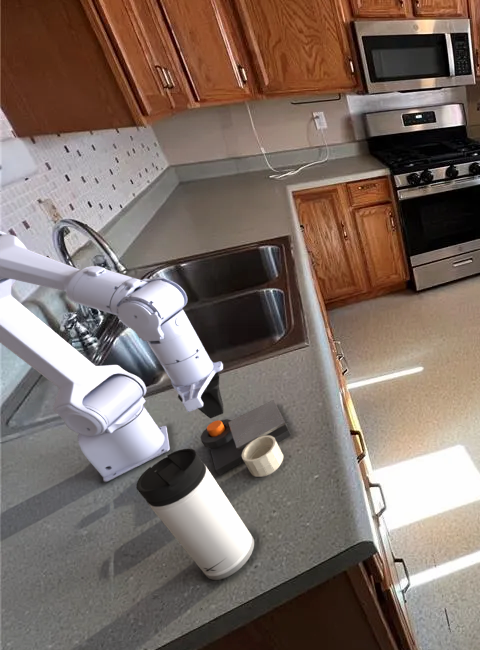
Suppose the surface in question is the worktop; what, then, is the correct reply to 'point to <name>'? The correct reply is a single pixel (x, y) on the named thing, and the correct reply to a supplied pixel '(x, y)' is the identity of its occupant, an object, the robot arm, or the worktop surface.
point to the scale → (232, 446)
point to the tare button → (215, 428)
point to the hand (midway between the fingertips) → (216, 413)
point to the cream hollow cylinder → (262, 456)
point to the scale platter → (256, 424)
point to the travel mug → (197, 513)
